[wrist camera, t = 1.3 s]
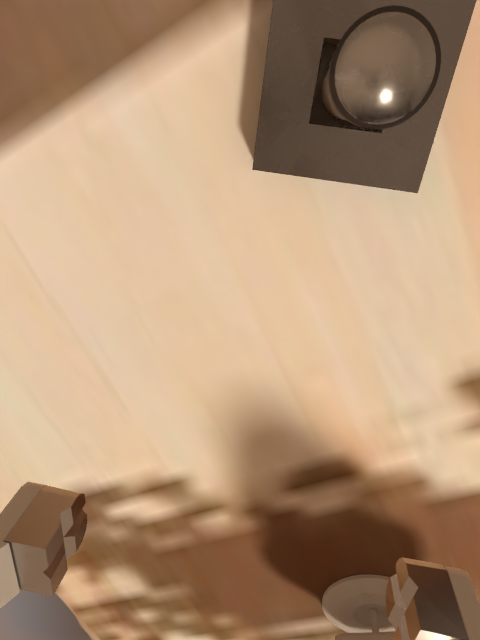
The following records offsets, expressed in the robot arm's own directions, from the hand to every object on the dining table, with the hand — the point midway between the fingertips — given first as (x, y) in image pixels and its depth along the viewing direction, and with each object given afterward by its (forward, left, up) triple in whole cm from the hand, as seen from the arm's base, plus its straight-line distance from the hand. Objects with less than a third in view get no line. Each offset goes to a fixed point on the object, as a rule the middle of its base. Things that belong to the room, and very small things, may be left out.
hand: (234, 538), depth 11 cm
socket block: (+3, +12, -28) cm, 30 cm away
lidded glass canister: (+3, +12, -28) cm, 30 cm away
